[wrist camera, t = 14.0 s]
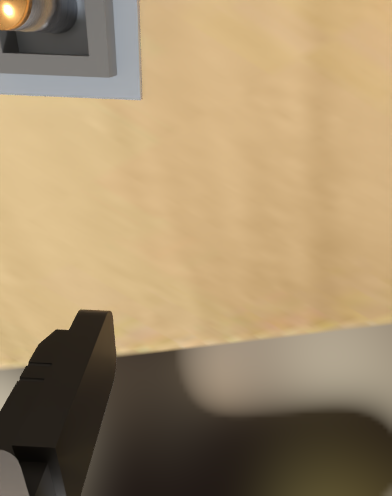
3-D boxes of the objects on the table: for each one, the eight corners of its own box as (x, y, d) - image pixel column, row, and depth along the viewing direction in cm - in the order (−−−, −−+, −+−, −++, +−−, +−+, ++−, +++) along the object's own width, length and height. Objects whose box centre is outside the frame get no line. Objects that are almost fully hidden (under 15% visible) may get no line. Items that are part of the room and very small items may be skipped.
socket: (136, -99, 28) (125, -119, 25) (142, 98, 35) (134, 104, 32) (-47, -105, 29) (-83, -126, 25) (-6, 92, 35) (-30, 97, 32)
